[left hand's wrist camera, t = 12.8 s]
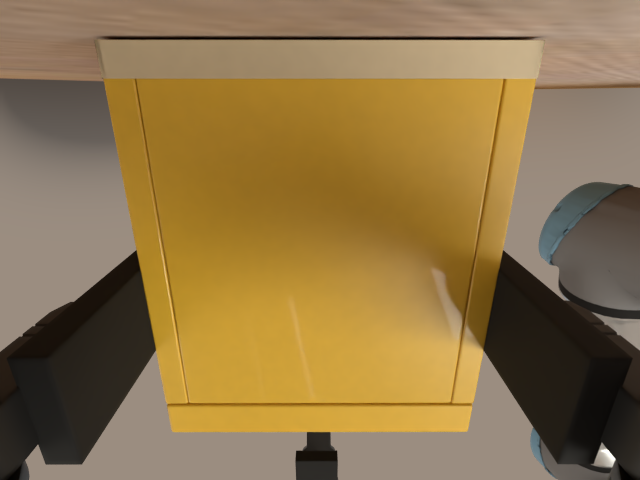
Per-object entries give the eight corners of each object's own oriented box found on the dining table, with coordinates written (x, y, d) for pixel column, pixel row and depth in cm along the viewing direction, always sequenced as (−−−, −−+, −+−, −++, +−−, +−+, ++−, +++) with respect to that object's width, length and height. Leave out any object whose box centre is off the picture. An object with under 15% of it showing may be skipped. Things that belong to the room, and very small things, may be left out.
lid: (384, 227, 28) (377, 330, 32) (254, 227, 28) (261, 330, 32) (473, 405, 12) (439, 579, 15) (165, 405, 12) (199, 579, 15)
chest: (396, 77, 24) (385, 228, 28) (243, 77, 24) (253, 228, 28) (545, 39, 8) (474, 404, 12) (93, 39, 8) (165, 404, 12)
